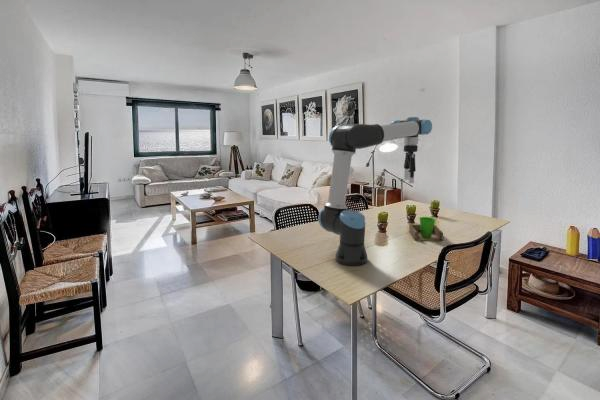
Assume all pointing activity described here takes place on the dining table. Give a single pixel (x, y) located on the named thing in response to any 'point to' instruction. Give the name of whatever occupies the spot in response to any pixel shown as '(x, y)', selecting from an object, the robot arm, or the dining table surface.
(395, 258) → the dining table surface
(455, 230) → the dining table surface
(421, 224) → the cup
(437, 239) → the wooden tray
